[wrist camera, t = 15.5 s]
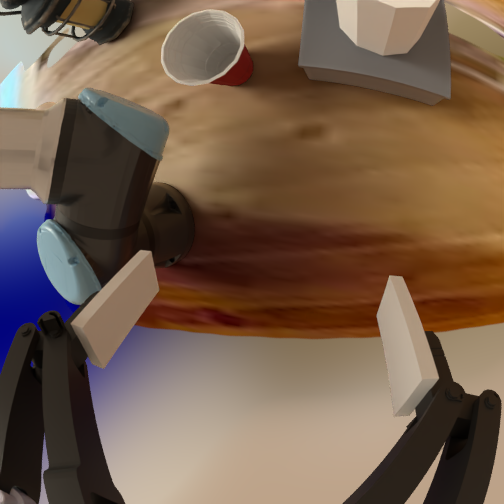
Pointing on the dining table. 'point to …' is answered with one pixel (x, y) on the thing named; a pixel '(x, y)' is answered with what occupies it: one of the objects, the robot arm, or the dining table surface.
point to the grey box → (376, 57)
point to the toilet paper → (385, 23)
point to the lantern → (74, 16)
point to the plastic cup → (207, 50)
